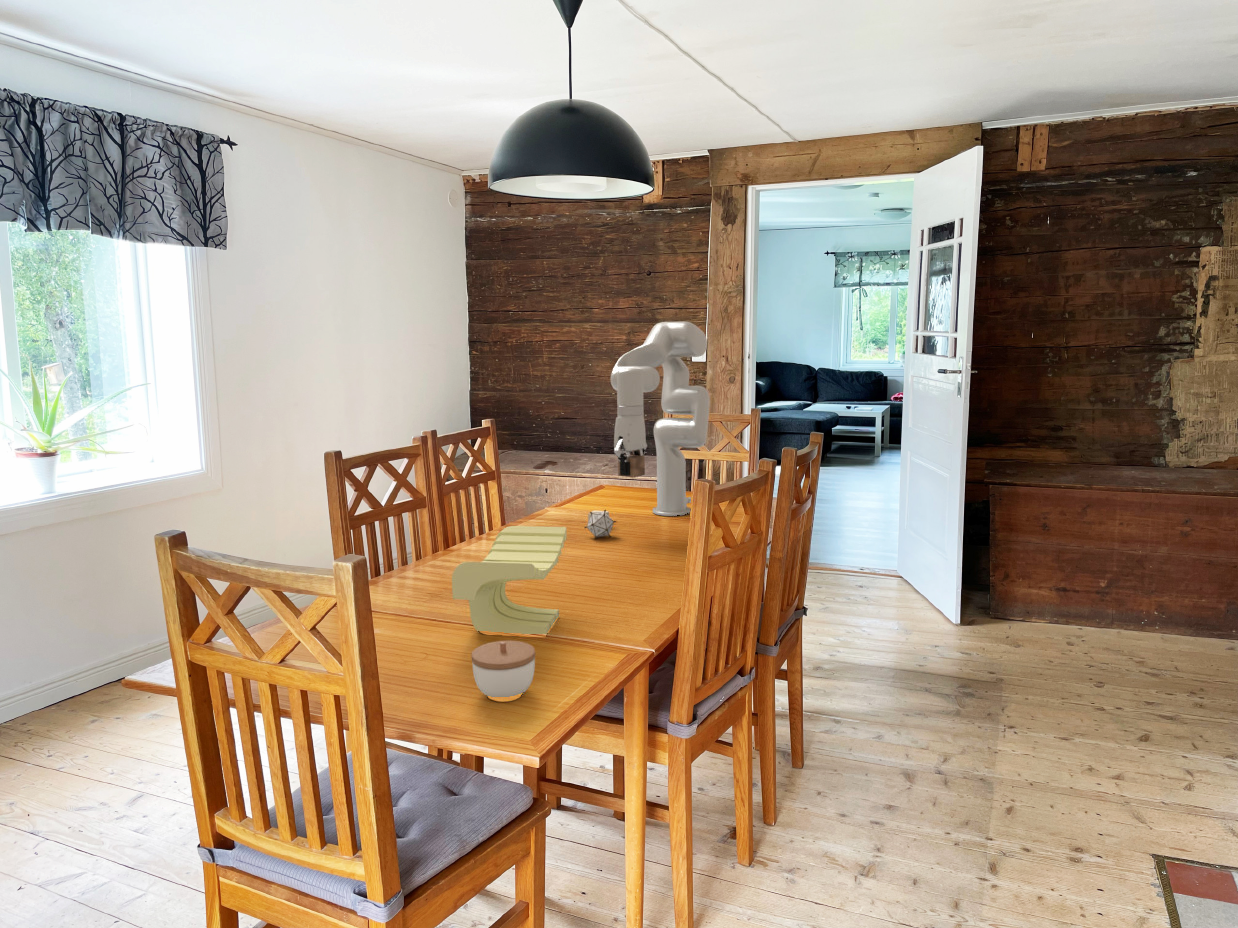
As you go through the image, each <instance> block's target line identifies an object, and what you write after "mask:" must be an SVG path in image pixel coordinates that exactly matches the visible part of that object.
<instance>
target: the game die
mask: <svg viewBox="0 0 1238 928" xmlns="http://www.w3.org/2000/svg"><path fill="white" fill-rule="evenodd" d="M603 511H604V512H600V513H592V511H589V513H590V514H591V516H590V519H589V522H588V521H587V522H588V523H587V525H586V526H584V529H588V530H589V532H590V533H591V535H593V536H594V540H597V538H601V537H606V536H607V537H609V538H612V536H611V535H610V534H611V531H612V529H613V527H614V524H615V523H617V522H618V521H617V520H614V519H612V518H611V517H610V515H609V516H608V515H607V514H606V513H605V512H606V511H607V509H604V510H603Z"/></svg>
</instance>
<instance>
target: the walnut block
mask: <svg viewBox="0 0 1238 928" xmlns="http://www.w3.org/2000/svg"><path fill="white" fill-rule="evenodd" d="M624 455H625V456H626V454H624ZM645 457H646V456H645V455H643V456H639V455H633V454H630V455H629V461H628V462H630V476H624V475H620V462H619V459H618V458H617V465H618V466H617V468H618V470H617V472H618V474H617V475H618V477H623V478H624V477H626V478H638V477H642V476H645V474H646V470H645V469H646V468H645V463H646V461H645Z"/></svg>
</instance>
